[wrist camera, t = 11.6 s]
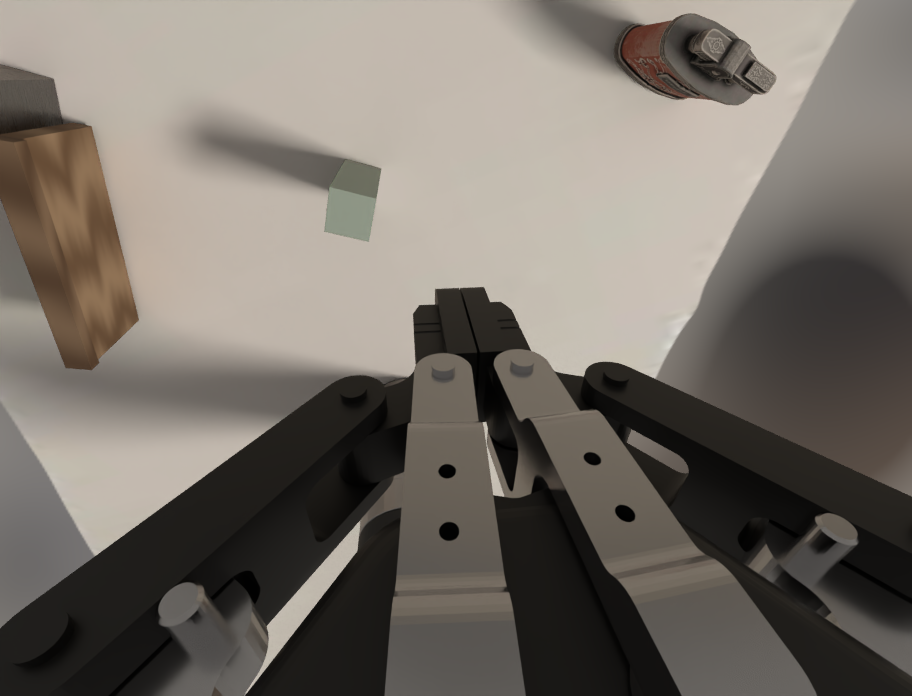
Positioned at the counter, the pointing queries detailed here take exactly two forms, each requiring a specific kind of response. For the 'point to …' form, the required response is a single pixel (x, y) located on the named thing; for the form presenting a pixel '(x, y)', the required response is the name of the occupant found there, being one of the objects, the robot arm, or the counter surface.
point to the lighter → (692, 60)
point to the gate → (68, 237)
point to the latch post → (352, 200)
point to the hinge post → (27, 101)
